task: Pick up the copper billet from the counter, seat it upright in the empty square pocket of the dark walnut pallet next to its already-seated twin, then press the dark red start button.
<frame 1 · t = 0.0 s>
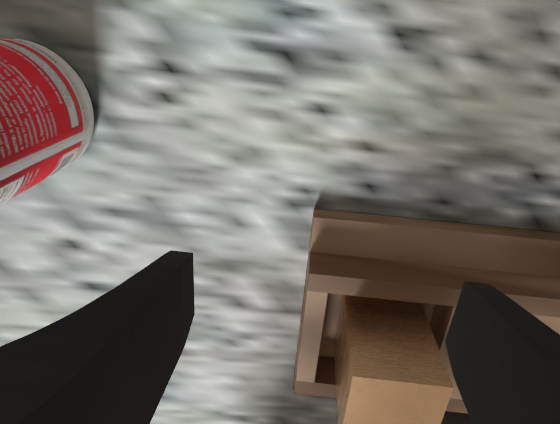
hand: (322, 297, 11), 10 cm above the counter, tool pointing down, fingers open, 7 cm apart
pallet: (441, 316, 23), on the counter
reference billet: (374, 320, 22), point 1 cm above the counter, touching pallet
pill bottle: (39, 105, 20), on the counter
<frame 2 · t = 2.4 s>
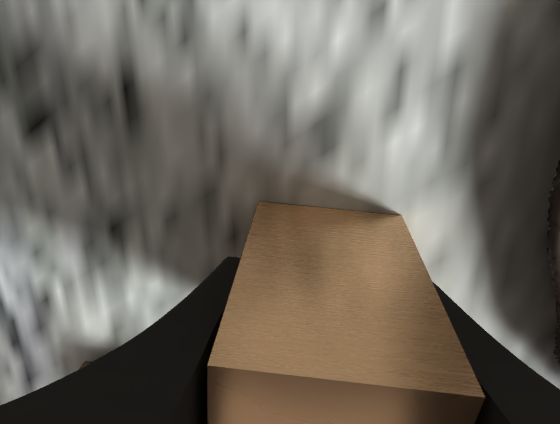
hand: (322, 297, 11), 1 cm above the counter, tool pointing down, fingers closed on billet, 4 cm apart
billet: (321, 268, 12), on the counter, touching gripper
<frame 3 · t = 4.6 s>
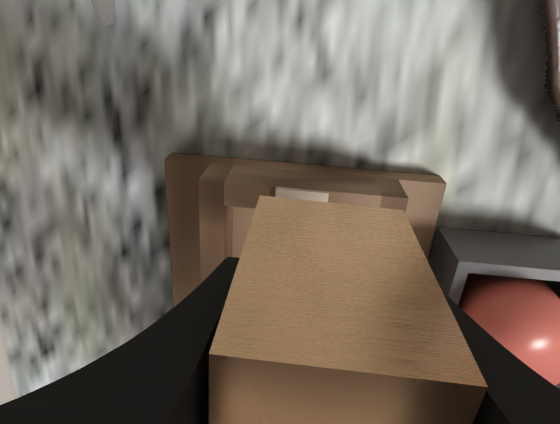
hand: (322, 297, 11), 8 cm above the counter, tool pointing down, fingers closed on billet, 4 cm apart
pallet: (290, 307, 21), on the counter
button housing: (484, 285, 20), on the counter
start button: (511, 327, 17), point 3 cm above the counter, slide at 0.0 cm
billet: (322, 263, 12), point 7 cm above the counter, touching gripper
when the fingers open (4 cm above the counter, at t = 6.1 s): billet drops 1 cm, resting on pallet.
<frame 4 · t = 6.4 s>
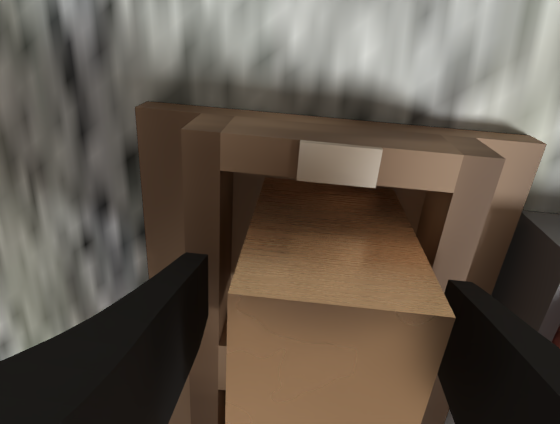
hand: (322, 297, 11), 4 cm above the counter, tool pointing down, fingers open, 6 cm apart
pallet: (308, 318, 16), on the counter
billet: (321, 239, 13), point 1 cm above the counter, touching pallet
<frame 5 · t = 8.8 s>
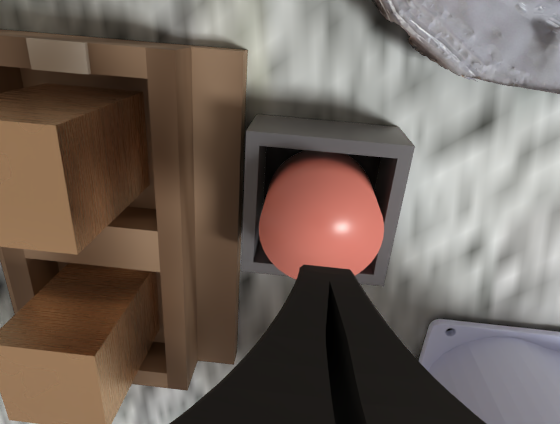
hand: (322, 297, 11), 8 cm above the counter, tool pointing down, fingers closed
pallet: (120, 214, 20), on the counter
button housing: (319, 186, 18), on the counter
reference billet: (119, 293, 20), point 1 cm above the counter, touching pallet
start button: (320, 214, 16), point 3 cm above the counter, slide at 0.0 cm
billet: (100, 136, 17), point 1 cm above the counter, touching pallet
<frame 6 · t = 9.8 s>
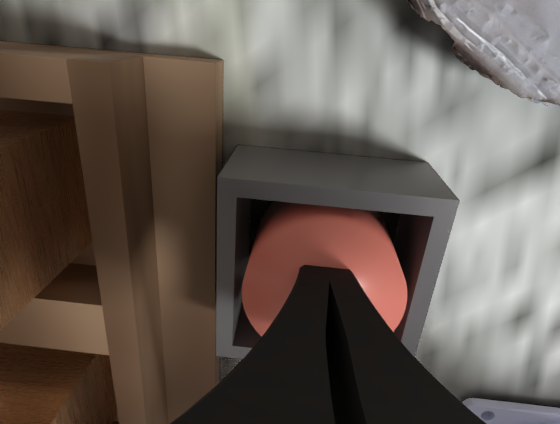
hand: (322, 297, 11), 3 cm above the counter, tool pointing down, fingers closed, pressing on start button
pallet: (66, 268, 15), on the counter
button housing: (321, 236, 14), on the counter
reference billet: (67, 365, 16), point 1 cm above the counter, touching pallet
start button: (322, 268, 12), point 2 cm above the counter, slide at 1.0 cm, touching gripper
billet: (28, 174, 13), point 1 cm above the counter, touching pallet
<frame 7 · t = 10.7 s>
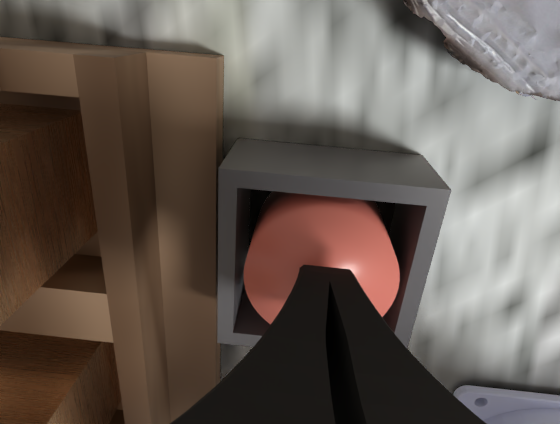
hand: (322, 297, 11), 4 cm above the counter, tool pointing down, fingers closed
pallet: (70, 260, 16), on the counter
button housing: (318, 227, 14), on the counter
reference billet: (71, 355, 17), point 1 cm above the counter, touching pallet
start button: (319, 253, 13), point 2 cm above the counter, slide at 1.2 cm
billet: (34, 167, 13), point 1 cm above the counter, touching pallet
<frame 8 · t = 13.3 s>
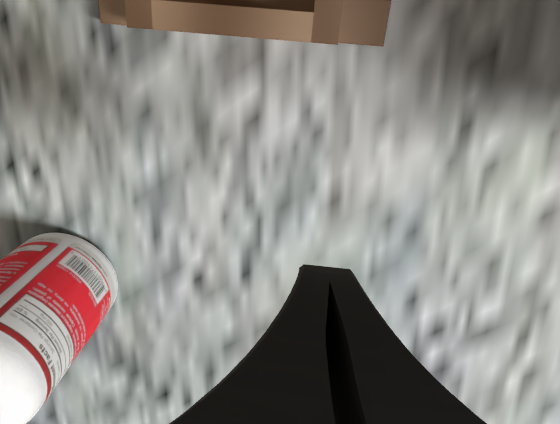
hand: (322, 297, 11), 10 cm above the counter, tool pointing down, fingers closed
pill bottle: (73, 272, 24), on the counter
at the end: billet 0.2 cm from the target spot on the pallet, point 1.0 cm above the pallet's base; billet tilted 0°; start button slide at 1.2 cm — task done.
